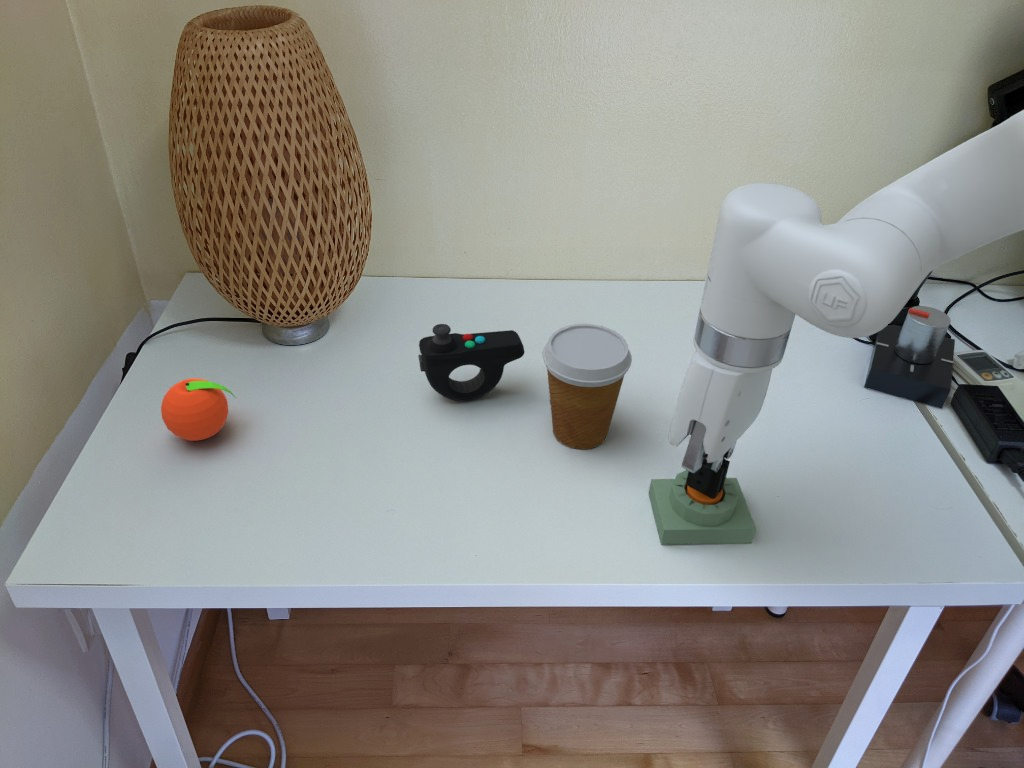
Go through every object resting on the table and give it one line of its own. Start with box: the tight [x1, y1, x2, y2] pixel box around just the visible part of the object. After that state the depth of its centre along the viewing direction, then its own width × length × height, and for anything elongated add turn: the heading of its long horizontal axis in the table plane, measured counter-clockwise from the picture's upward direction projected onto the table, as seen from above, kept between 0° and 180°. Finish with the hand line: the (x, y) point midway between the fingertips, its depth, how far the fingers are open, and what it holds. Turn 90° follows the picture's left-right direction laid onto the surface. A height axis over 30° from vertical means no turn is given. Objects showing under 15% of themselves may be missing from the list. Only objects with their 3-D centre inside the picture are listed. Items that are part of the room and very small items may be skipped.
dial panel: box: [863, 324, 956, 410], centre depth 98 cm, size 12×9×3 cm
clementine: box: [160, 377, 237, 442], centre depth 86 cm, size 8×7×7 cm
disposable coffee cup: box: [542, 323, 633, 450], centre depth 86 cm, size 10×10×12 cm
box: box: [648, 469, 757, 546], centre depth 78 cm, size 9×7×4 cm
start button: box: [686, 486, 723, 505], centre depth 77 cm, size 3×3×2 cm
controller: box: [418, 323, 525, 401], centre depth 91 cm, size 4×12×10 cm, turn 102°
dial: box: [894, 305, 952, 364], centre depth 96 cm, size 5×5×6 cm
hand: (703, 487), depth 76 cm, fingers closed
